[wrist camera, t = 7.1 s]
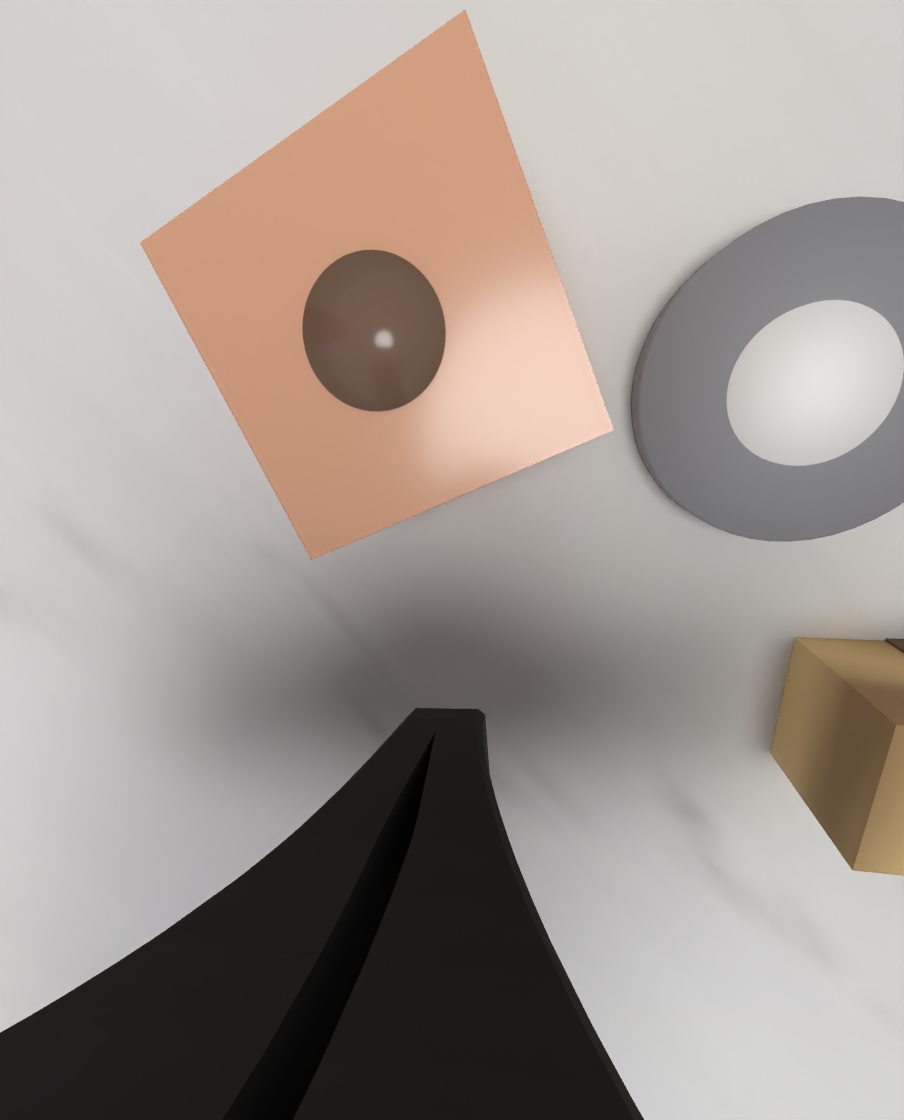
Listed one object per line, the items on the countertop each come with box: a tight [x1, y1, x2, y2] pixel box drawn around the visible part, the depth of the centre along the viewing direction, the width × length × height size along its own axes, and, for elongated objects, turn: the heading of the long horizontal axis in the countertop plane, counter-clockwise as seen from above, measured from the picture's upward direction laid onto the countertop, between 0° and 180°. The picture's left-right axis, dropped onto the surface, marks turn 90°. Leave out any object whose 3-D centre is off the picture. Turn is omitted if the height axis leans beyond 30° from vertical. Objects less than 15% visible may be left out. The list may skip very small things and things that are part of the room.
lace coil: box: [631, 197, 904, 541], centre depth 8 cm, size 5×5×1 cm
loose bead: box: [140, 10, 614, 560], centre depth 7 cm, size 4×4×4 cm
